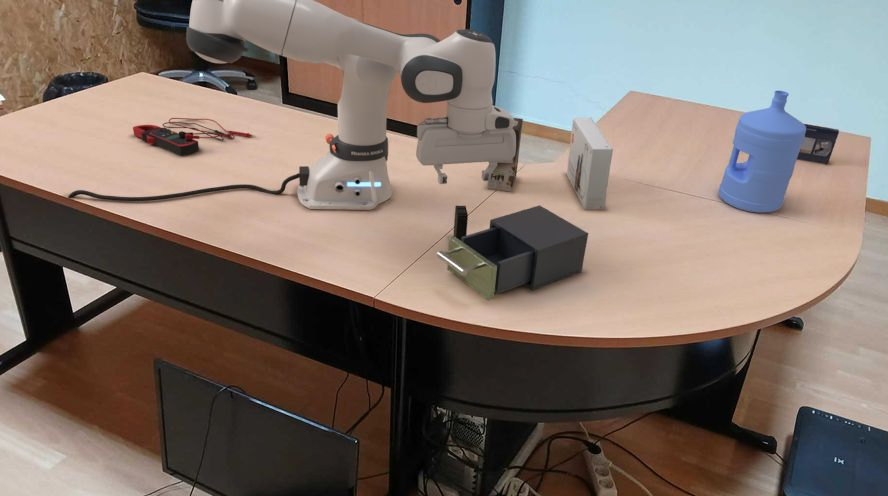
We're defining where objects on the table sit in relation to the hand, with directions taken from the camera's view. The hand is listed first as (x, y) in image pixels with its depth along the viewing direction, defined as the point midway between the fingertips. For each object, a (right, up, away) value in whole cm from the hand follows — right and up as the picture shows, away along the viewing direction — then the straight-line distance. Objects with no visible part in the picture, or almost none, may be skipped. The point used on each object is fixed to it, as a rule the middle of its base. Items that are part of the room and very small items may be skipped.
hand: (464, 181), depth 151 cm
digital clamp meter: (-73, +18, +49) cm, 90 cm away
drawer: (+4, -20, -6) cm, 21 cm away
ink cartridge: (-1, -12, +8) cm, 15 cm away
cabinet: (+14, -17, +2) cm, 23 cm away
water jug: (+73, 0, +36) cm, 82 cm away
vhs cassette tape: (+98, +16, +64) cm, 118 cm away
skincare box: (+31, +2, +35) cm, 46 cm away
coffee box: (+10, +4, +36) cm, 38 cm away
